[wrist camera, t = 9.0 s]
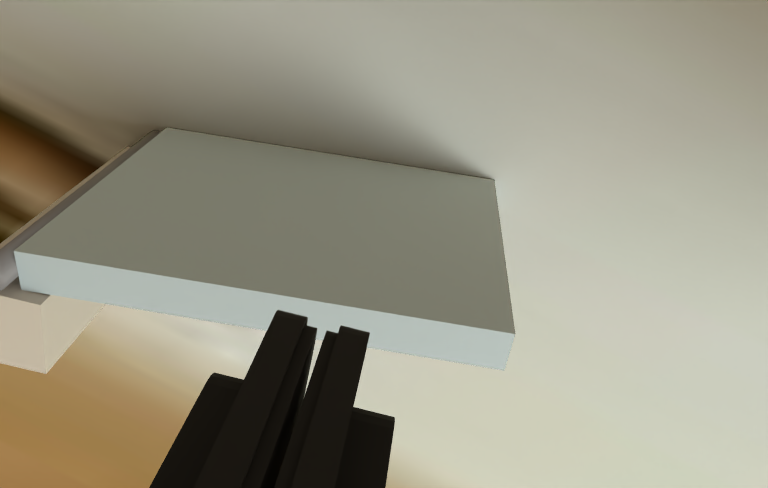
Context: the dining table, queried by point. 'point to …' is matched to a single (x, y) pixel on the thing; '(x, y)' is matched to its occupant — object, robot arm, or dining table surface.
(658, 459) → the dining table surface
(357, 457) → the robot arm
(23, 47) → the dining table surface
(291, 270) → the door
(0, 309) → the hinge post
